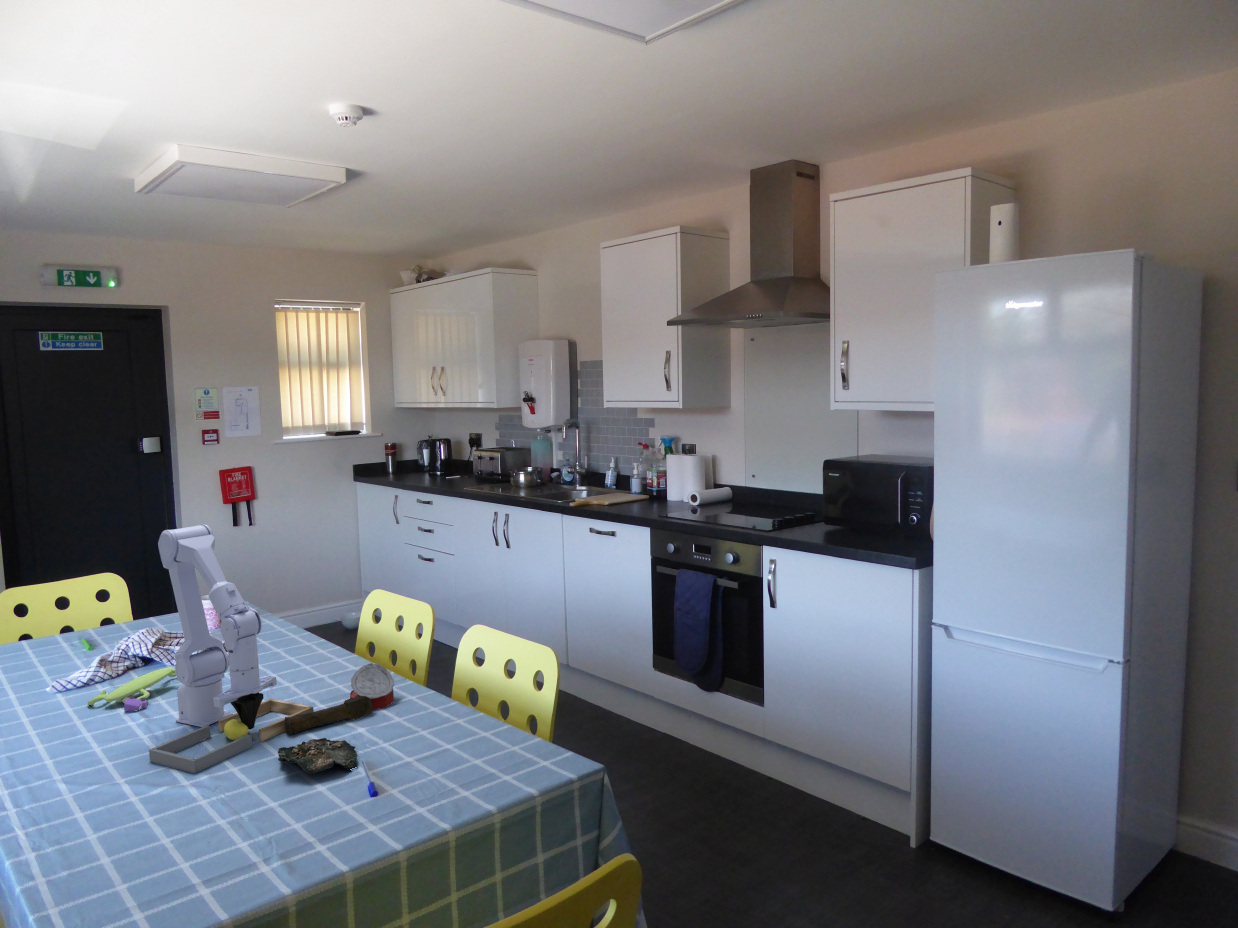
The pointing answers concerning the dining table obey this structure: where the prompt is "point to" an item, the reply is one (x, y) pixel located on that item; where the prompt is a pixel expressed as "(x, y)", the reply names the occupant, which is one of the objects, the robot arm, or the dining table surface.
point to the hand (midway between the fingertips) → (248, 728)
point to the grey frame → (168, 758)
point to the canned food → (373, 685)
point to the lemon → (235, 729)
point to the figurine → (135, 690)
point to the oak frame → (267, 707)
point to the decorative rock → (319, 755)
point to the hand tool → (330, 715)
